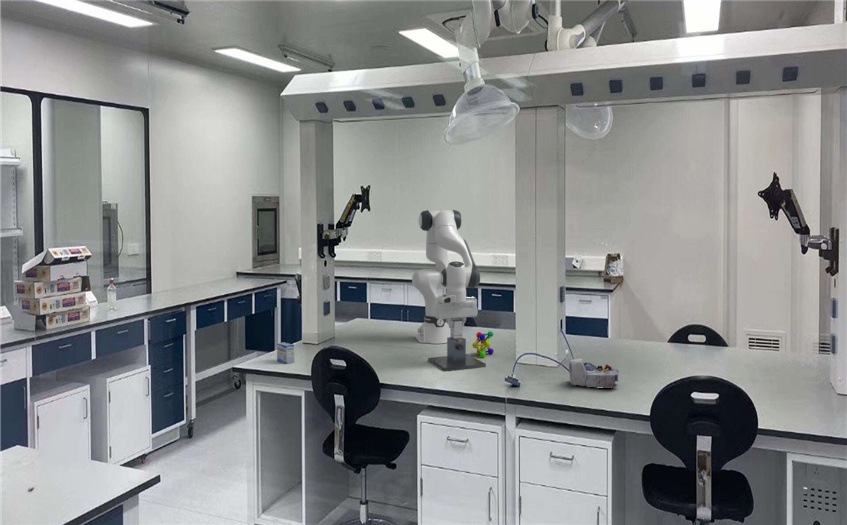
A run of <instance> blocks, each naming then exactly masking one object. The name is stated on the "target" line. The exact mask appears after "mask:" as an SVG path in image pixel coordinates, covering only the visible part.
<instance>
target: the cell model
mask: <svg viewBox="0 0 847 525" xmlns="http://www.w3.org/2000/svg"><path fill="white" fill-rule="evenodd" d="M568 364H569V365H568V368H569V369H568V370H569V380H570V384H571V385H572V386H576V385H579V386H580V387H584V386H585V387H586V386H590V387H603V388H611V389H612V388H613V387H614V386H615V387H616V386H618V384H617V383H616V382H619V373H620V370H619V369H618V368H613V367H612V366H611V365H609V364H605V366H604V367H603V365H597V366H596V365H594V364H593V363H592V362H587V361H586V362H585V361H584V359H583V358H574V359H571V360H570V361H569V363H568ZM579 386H578V387H579ZM612 386H613V387H612ZM590 387H589V388H590Z"/></svg>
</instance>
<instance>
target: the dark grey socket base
mask: <svg viewBox="0 0 847 525" xmlns="http://www.w3.org/2000/svg"><path fill="white" fill-rule="evenodd" d="M466 341H467V339H466V338H464V337H462V339H457V340H453V339H451V336H450V337H447V343H446V345H447V346H446V352H447V354H446V355H445V356H435V357H434V356H433V357H428V358H427V362H429V363H430V362H431V364H432V363H433V364H432V365H434V366H435V365H436V368H439V369H440V368H441V370H442V371H444V372H451V371H452V370H453V371H459V370H461V371H462V370H463V371H464V370H471V369H479V368H486V367H487V365H486V363H485V362H483V361H482V360H480V359H477V358H475V357H474V356H472V355H469V354H468V353H467V351H466V348H467V347H466V345H467V344H466V343H467V342H466Z"/></svg>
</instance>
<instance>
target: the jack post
mask: <svg viewBox="0 0 847 525" xmlns="http://www.w3.org/2000/svg"><path fill="white" fill-rule="evenodd" d="M462 320H463V319H462V318H451V321H450V322H451V324H453V328H450V337H451V339H453V340H457V339H462V338H463V327H462Z"/></svg>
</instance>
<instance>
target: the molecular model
mask: <svg viewBox="0 0 847 525" xmlns="http://www.w3.org/2000/svg"><path fill="white" fill-rule="evenodd" d="M492 337H494V332H493V331H492V330H489V331H488V332H487V333H482V332H481V331H478V332H476V339H475V341H474V342H472V348H474V349H476V354H477V356H479V357H480V358H481V359H484V358H485V357H486V353H488V355H493V354H494V353H495V352H494V349H493V348H491V346H492V343H491V342H490V341H491V338H492Z"/></svg>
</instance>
